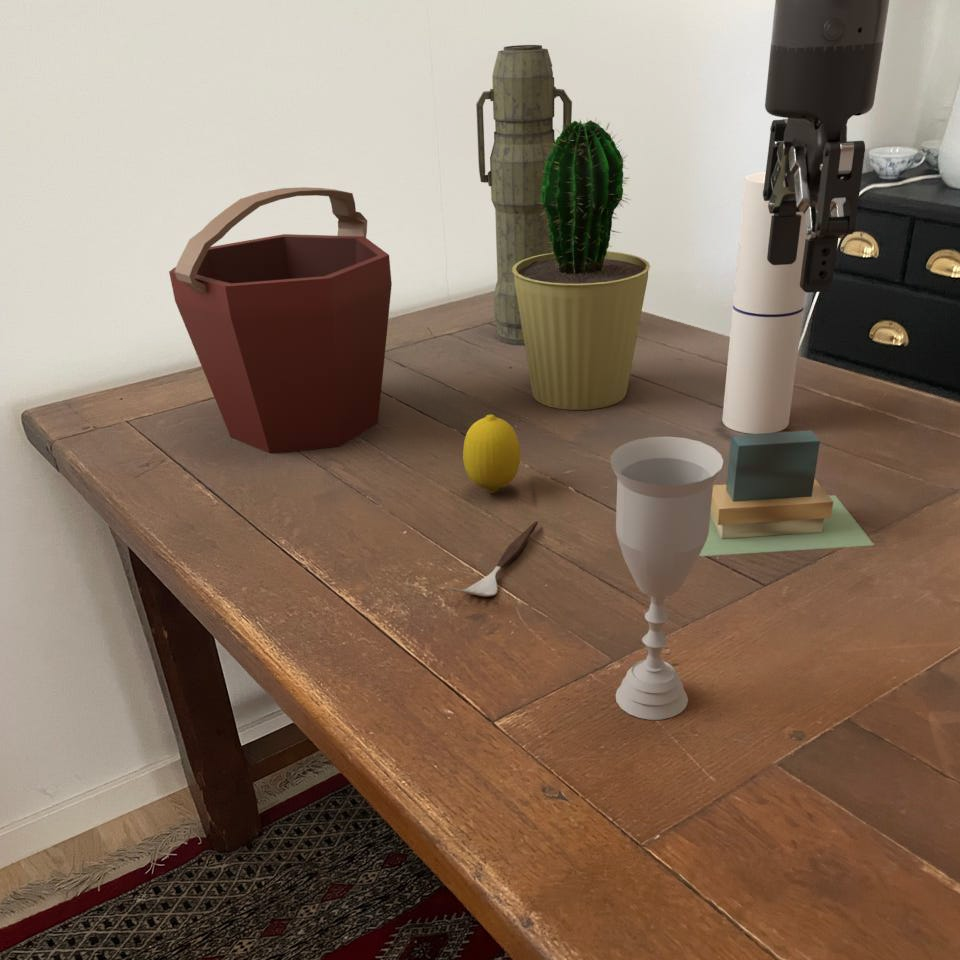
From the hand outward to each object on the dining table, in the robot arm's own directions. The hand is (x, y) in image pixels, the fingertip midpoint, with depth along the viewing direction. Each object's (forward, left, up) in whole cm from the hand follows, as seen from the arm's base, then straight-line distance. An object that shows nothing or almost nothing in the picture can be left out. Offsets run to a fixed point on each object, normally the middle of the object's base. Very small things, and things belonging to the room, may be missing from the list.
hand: (797, 276), depth 80 cm
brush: (0, 0, -22) cm, 22 cm away
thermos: (+16, -61, -22) cm, 67 cm away
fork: (+24, +4, -22) cm, 33 cm away
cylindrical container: (-6, -25, -22) cm, 34 cm away
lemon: (+24, -11, -22) cm, 35 cm away
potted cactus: (+12, -37, -22) cm, 45 cm away
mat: (0, 0, -22) cm, 22 cm away
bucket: (+44, -32, -22) cm, 59 cm away
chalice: (+15, +24, -22) cm, 36 cm away
